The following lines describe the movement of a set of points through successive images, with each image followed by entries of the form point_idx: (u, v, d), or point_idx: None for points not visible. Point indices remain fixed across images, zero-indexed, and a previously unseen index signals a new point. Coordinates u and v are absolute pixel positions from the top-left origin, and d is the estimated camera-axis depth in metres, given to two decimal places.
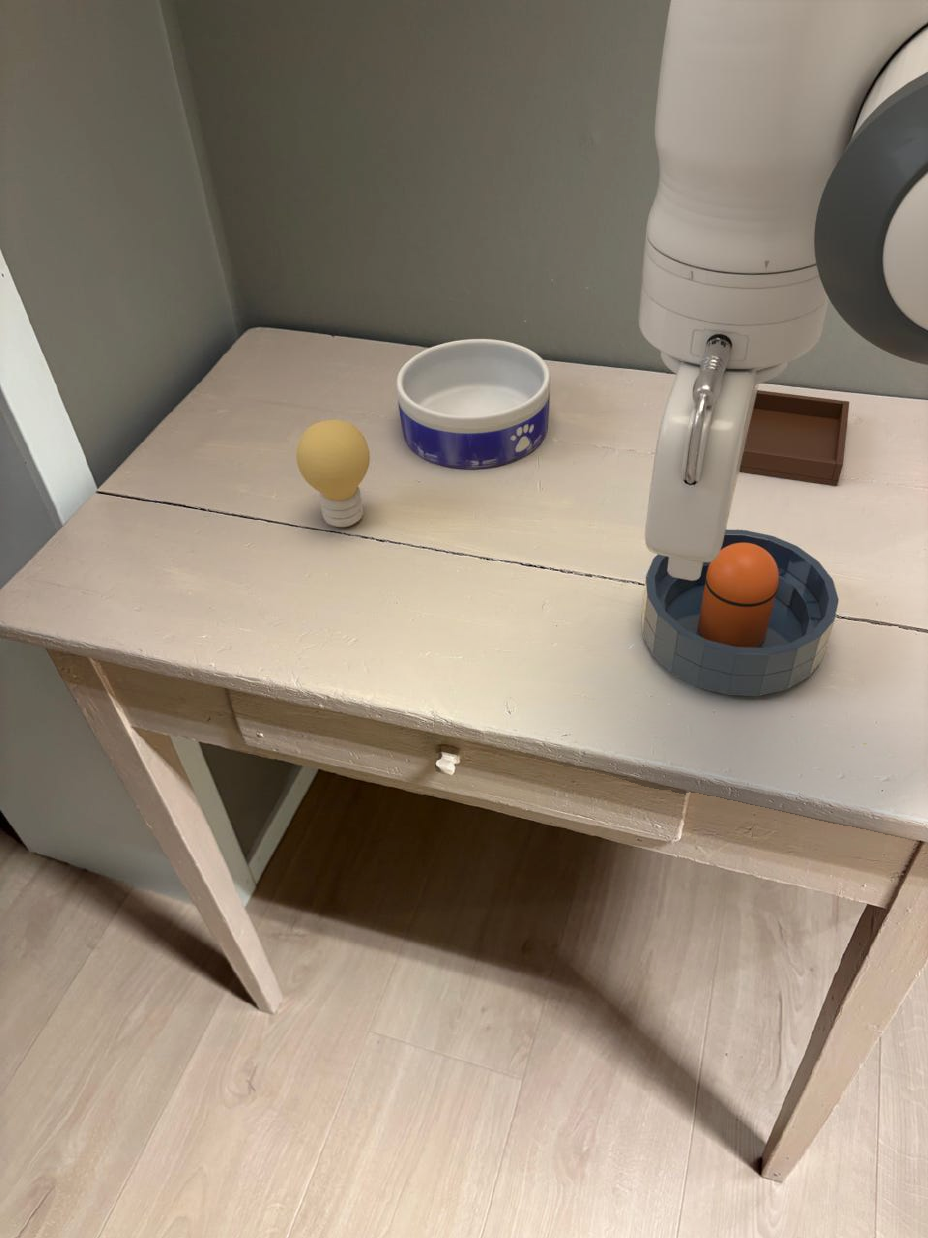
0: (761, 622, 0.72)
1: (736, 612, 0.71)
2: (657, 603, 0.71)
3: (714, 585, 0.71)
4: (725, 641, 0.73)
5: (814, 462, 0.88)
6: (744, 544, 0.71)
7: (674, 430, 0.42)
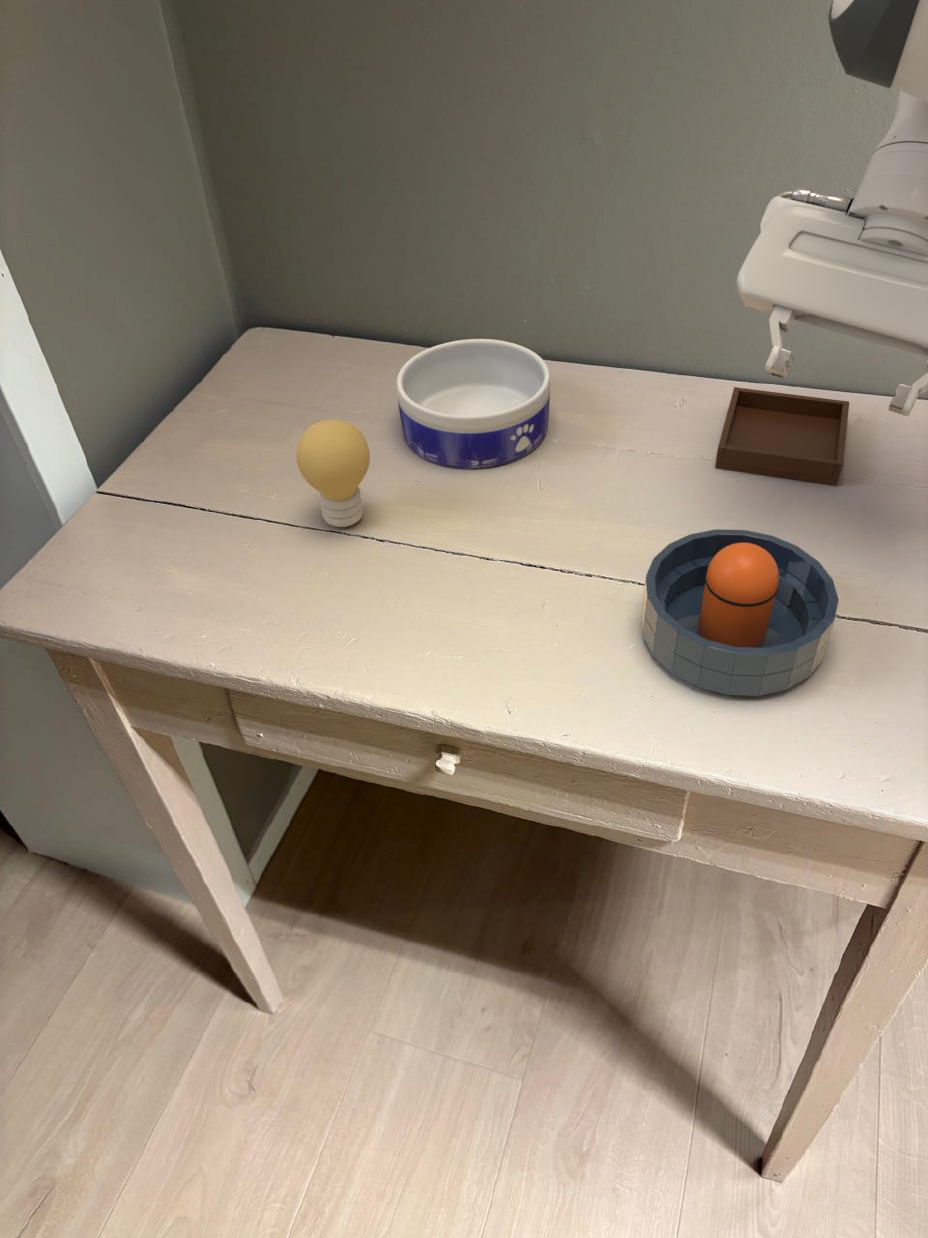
0: (761, 622, 0.72)
1: (736, 612, 0.71)
2: (657, 603, 0.71)
3: (714, 585, 0.71)
4: (725, 641, 0.73)
5: (814, 462, 0.88)
6: (744, 544, 0.71)
7: None
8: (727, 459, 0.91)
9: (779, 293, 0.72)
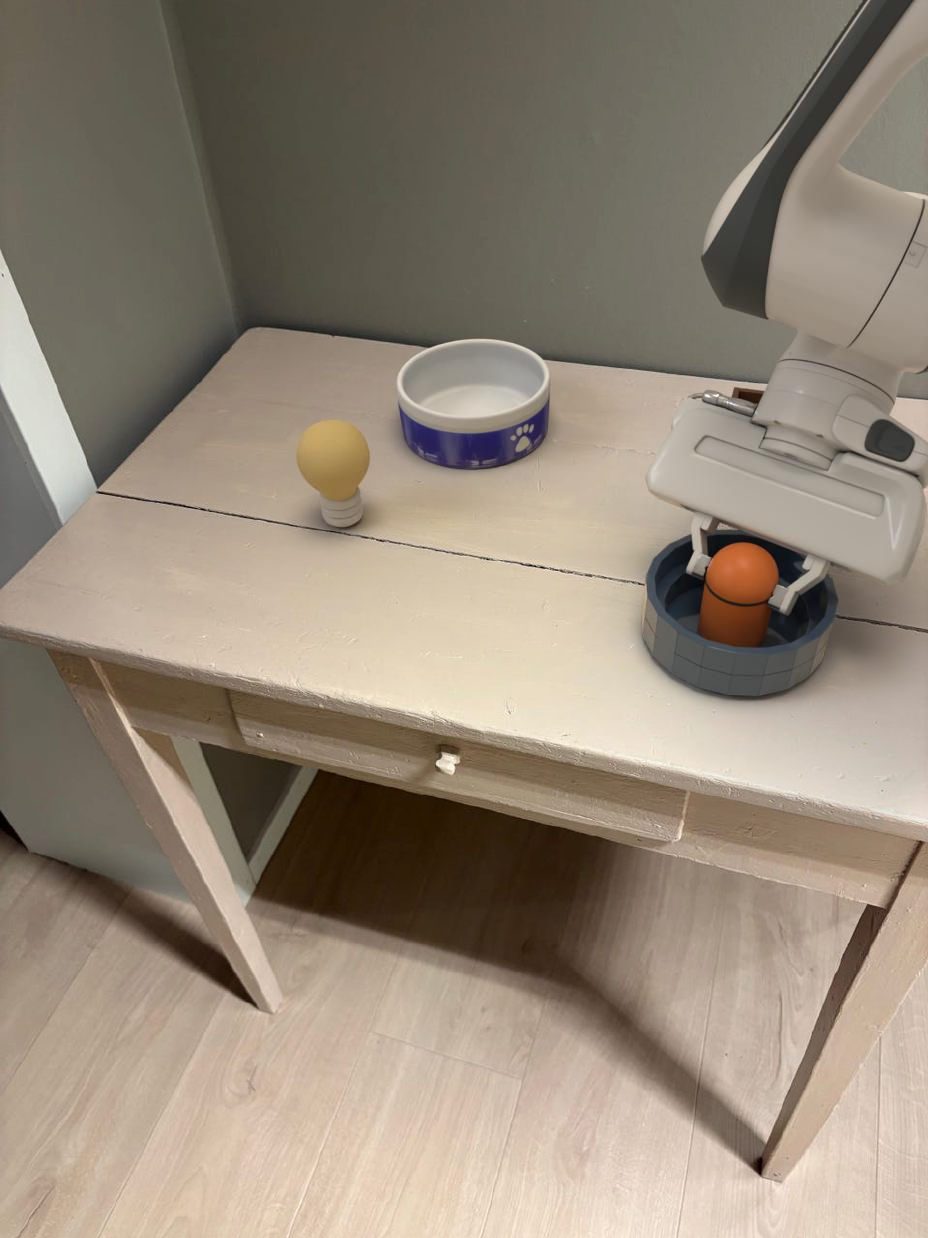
0: (761, 622, 0.72)
1: (735, 612, 0.71)
2: (657, 603, 0.71)
3: (714, 585, 0.71)
4: (725, 641, 0.73)
5: None
6: (744, 544, 0.71)
7: None
8: None
9: (683, 494, 0.73)
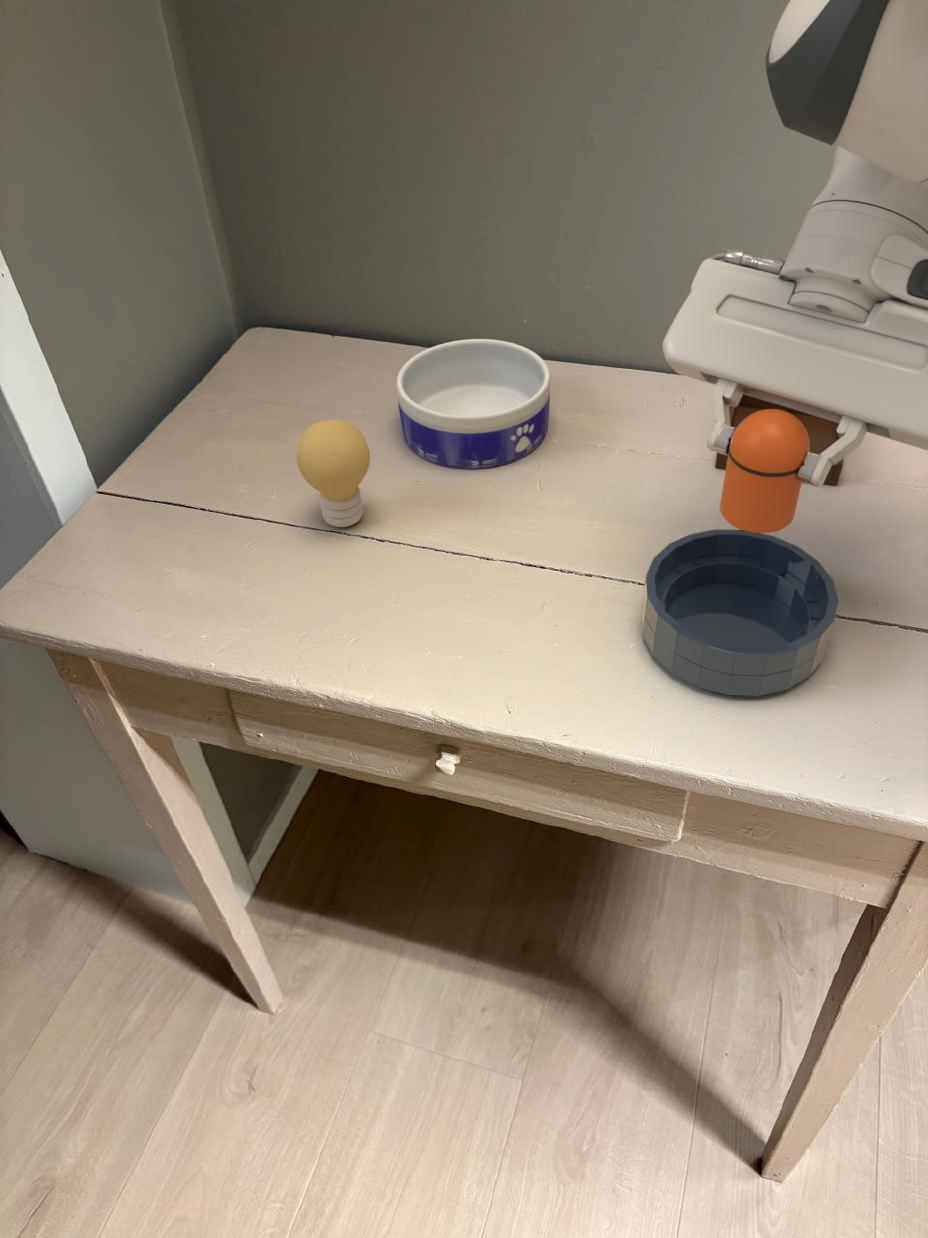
0: (790, 497, 0.66)
1: (762, 484, 0.65)
2: (657, 603, 0.71)
3: (738, 454, 0.65)
4: (750, 520, 0.67)
5: None
6: (771, 409, 0.64)
7: None
8: (727, 459, 0.91)
9: (704, 360, 0.67)
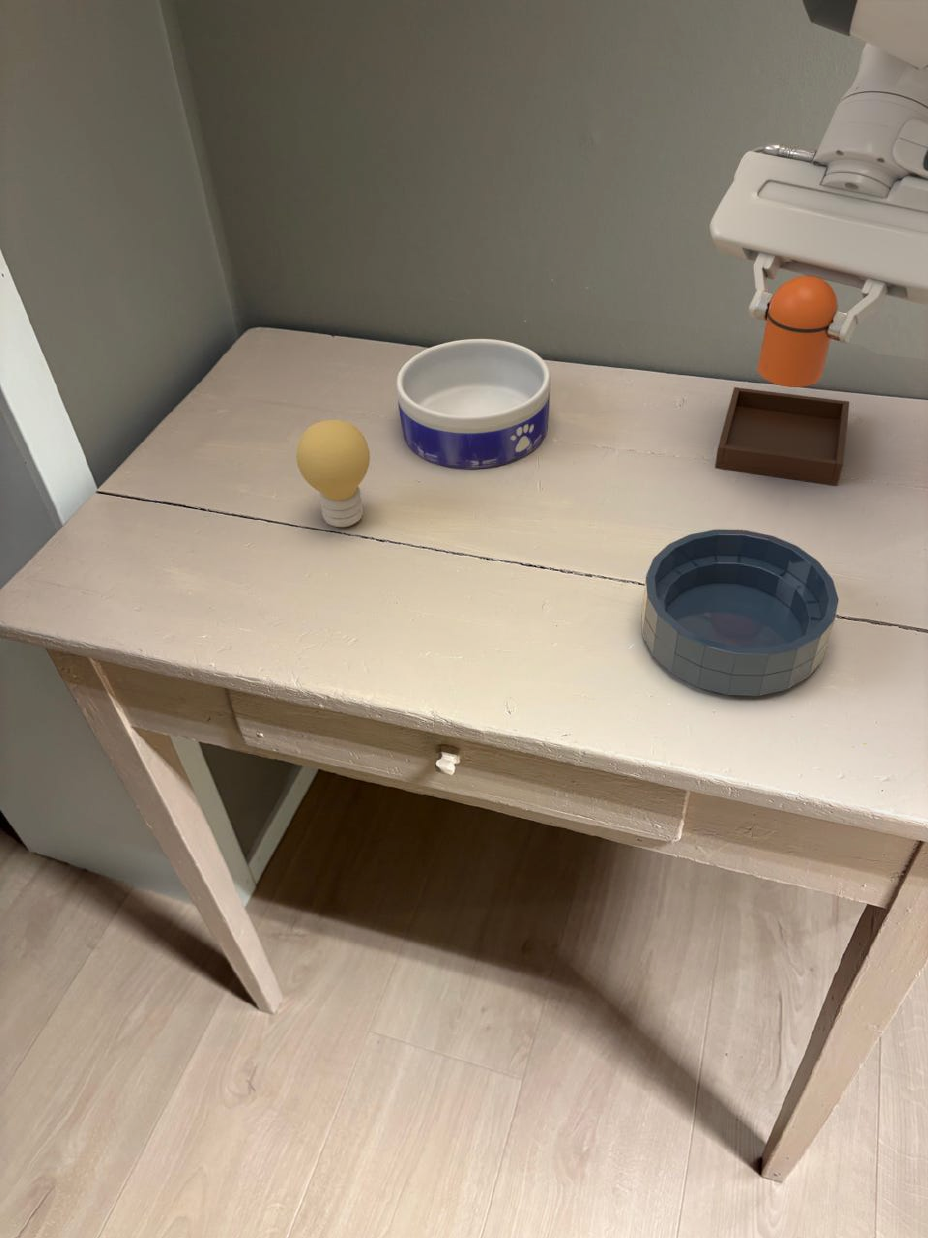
0: (820, 353, 0.76)
1: (797, 340, 0.75)
2: (657, 603, 0.71)
3: (777, 314, 0.75)
4: (785, 375, 0.78)
5: (814, 462, 0.88)
6: None
7: None
8: (727, 459, 0.91)
9: (747, 236, 0.77)
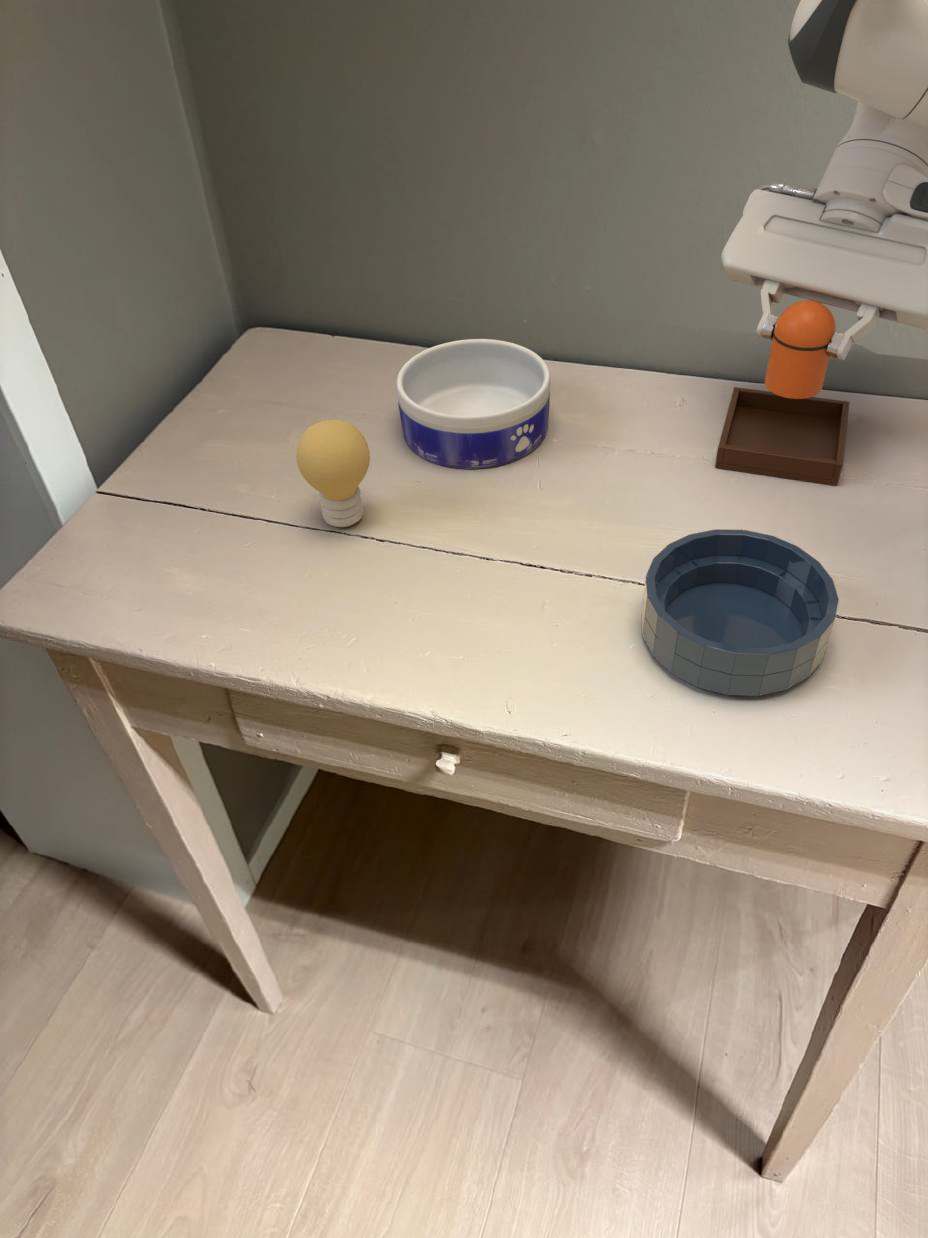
0: (820, 369, 0.86)
1: (799, 357, 0.85)
2: (657, 603, 0.71)
3: (782, 334, 0.85)
4: (789, 388, 0.87)
5: (814, 462, 0.88)
6: (807, 300, 0.85)
7: None
8: (727, 459, 0.91)
9: (754, 265, 0.87)
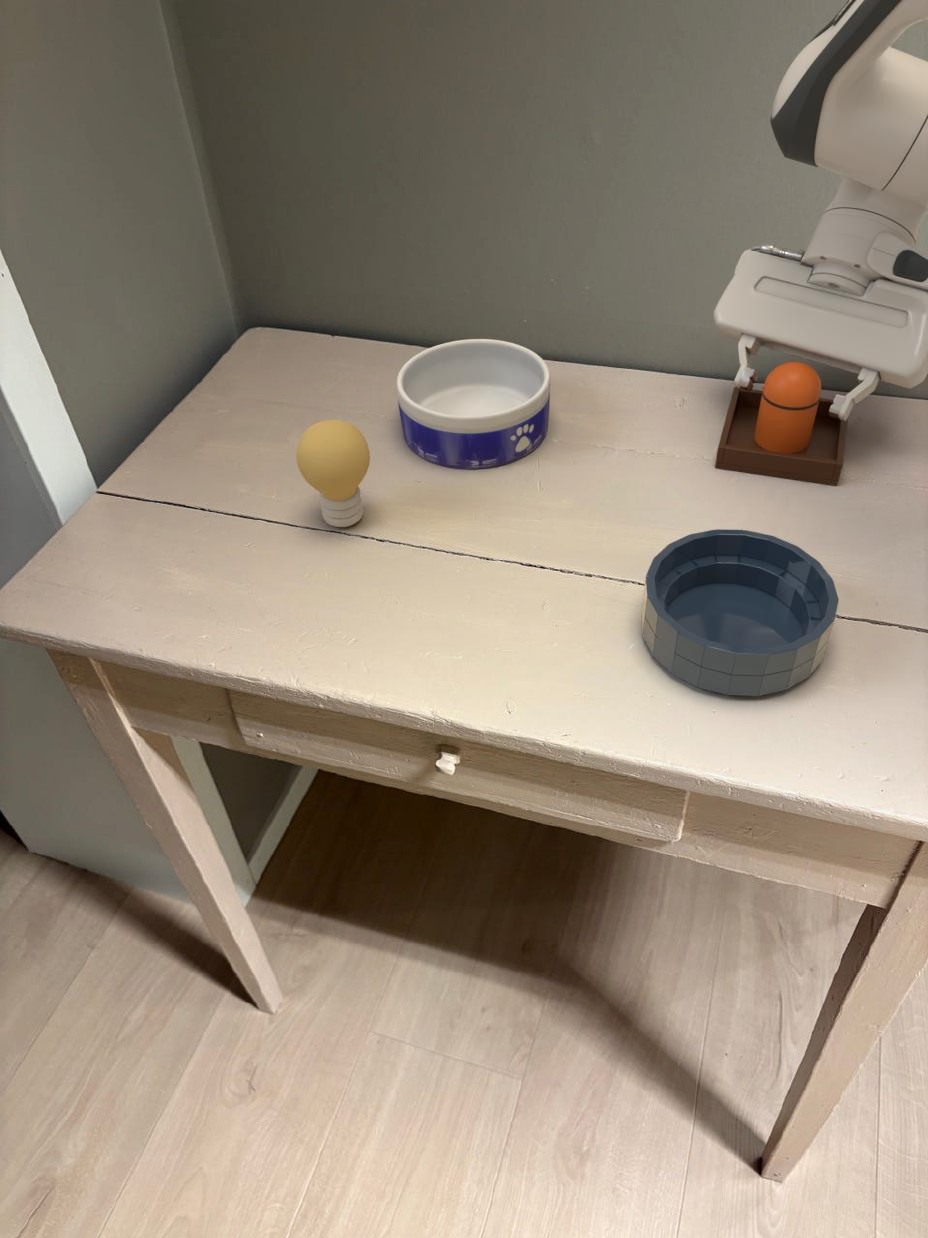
0: (807, 426, 0.90)
1: (787, 416, 0.89)
2: (657, 603, 0.71)
3: (770, 394, 0.89)
4: (777, 444, 0.91)
5: (814, 462, 0.88)
6: None
7: None
8: (727, 459, 0.91)
9: (745, 324, 0.91)
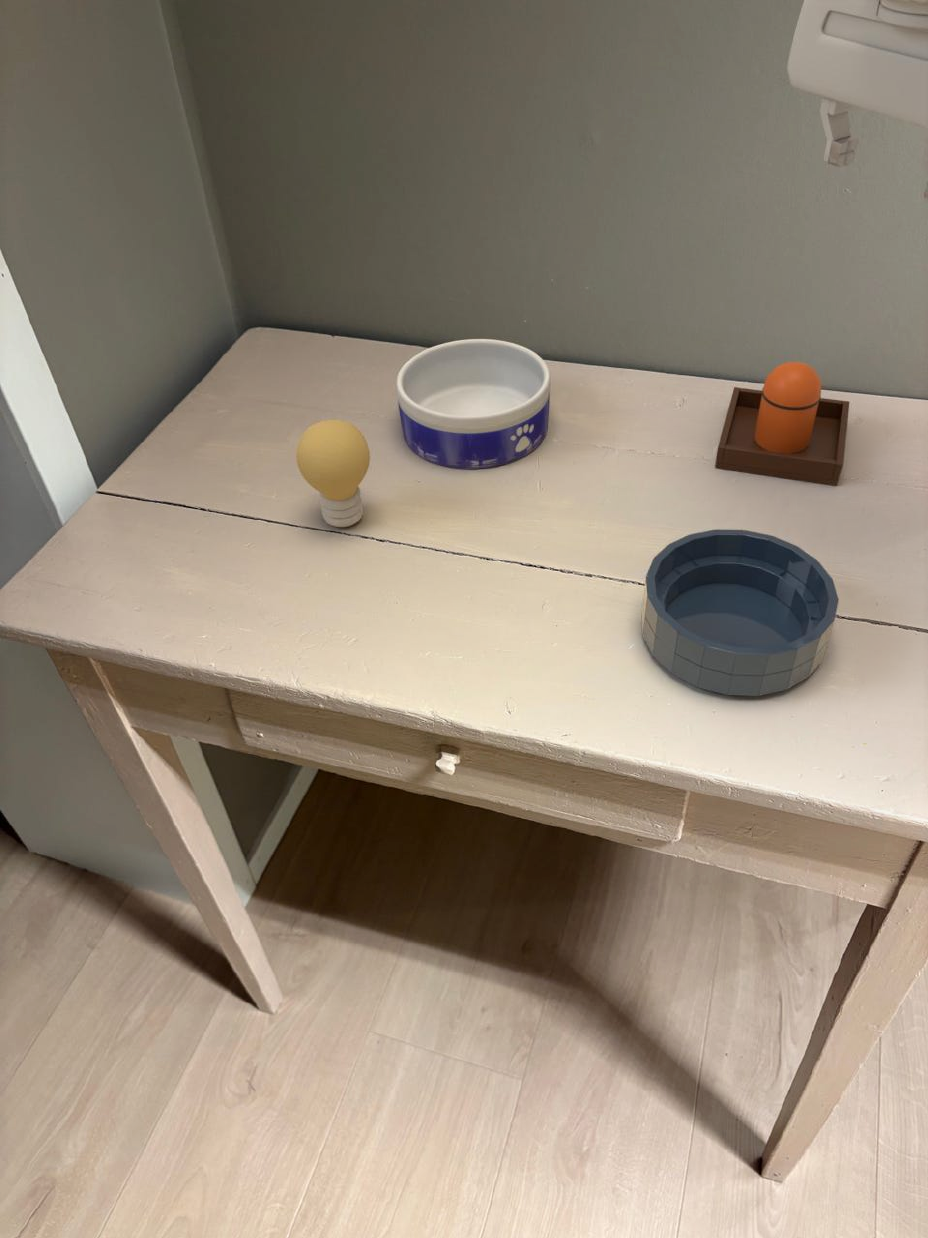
0: (807, 426, 0.90)
1: (787, 416, 0.89)
2: (657, 603, 0.71)
3: (770, 394, 0.89)
4: (777, 444, 0.91)
5: (814, 462, 0.88)
6: None
7: None
8: (727, 459, 0.91)
9: (818, 86, 0.71)
